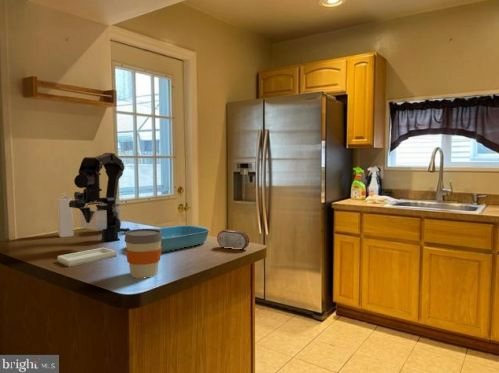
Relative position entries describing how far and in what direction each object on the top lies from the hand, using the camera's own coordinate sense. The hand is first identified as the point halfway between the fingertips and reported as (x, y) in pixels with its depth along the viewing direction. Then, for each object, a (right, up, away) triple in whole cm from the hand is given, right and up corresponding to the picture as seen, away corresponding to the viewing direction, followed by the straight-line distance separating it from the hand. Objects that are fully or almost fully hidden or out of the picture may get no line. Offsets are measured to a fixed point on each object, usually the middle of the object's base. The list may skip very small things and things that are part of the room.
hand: (93, 222), depth 165 cm
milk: (-26, -10, +28) cm, 39 cm away
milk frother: (-3, -9, +38) cm, 39 cm away
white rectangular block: (0, -3, 0) cm, 3 cm away
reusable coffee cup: (+31, -15, -33) cm, 48 cm away
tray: (+4, -13, -14) cm, 20 cm away
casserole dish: (+32, -12, +10) cm, 36 cm away
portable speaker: (+60, -13, +4) cm, 62 cm away
